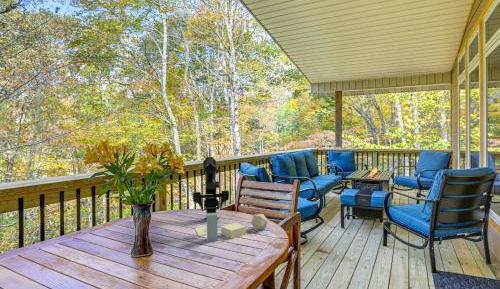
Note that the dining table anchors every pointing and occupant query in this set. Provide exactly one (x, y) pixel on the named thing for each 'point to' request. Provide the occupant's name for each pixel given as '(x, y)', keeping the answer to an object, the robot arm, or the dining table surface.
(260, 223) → the die
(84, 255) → the dining table surface
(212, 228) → the blue brick
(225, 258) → the dining table surface
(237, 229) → the base brick
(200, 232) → the plate
